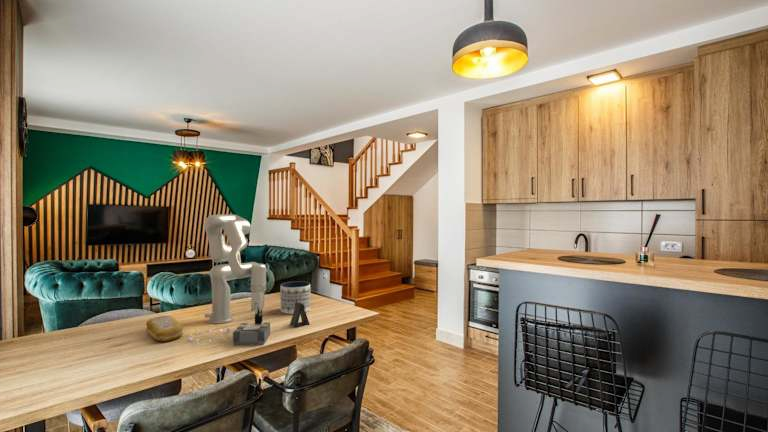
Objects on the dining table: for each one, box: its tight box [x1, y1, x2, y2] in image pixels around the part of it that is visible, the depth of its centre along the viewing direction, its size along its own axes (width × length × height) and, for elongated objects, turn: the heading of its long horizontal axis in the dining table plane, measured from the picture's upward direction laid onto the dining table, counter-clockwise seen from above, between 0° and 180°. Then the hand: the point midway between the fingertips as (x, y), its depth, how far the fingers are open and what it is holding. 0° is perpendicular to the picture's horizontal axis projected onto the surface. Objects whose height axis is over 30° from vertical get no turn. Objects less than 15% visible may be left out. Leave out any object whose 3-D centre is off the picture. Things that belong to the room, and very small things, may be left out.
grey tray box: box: [236, 323, 267, 331], centre depth 178 cm, size 14×9×5 cm, turn 96°
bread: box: [145, 315, 184, 343], centre depth 184 cm, size 13×26×8 cm, turn 49°
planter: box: [279, 280, 311, 315], centre depth 229 cm, size 18×18×16 cm
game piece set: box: [187, 325, 231, 345], centre depth 181 cm, size 19×20×4 cm
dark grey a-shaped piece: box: [289, 302, 310, 328], centre depth 201 cm, size 9×6×12 cm, turn 126°
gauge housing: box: [232, 322, 271, 347], centre depth 178 cm, size 14×14×6 cm
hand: (258, 322), depth 191 cm, fingers closed
